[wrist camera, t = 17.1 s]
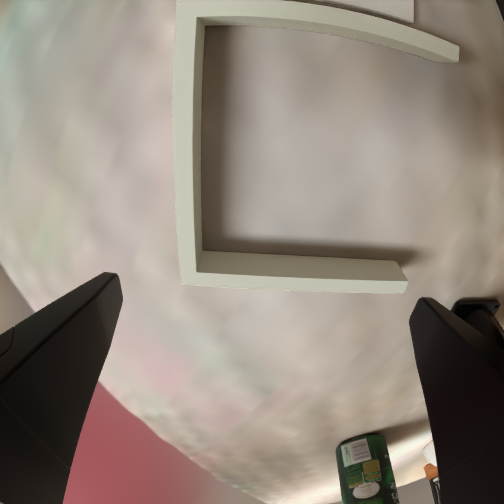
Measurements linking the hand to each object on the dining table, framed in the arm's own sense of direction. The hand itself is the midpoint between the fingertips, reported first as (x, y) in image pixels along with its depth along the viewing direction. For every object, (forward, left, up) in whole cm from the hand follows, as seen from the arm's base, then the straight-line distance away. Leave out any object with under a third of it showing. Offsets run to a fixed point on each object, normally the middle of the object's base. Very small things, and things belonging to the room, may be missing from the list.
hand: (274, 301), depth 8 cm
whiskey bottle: (-51, +62, -11) cm, 81 cm away
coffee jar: (-18, +38, -11) cm, 43 cm away
